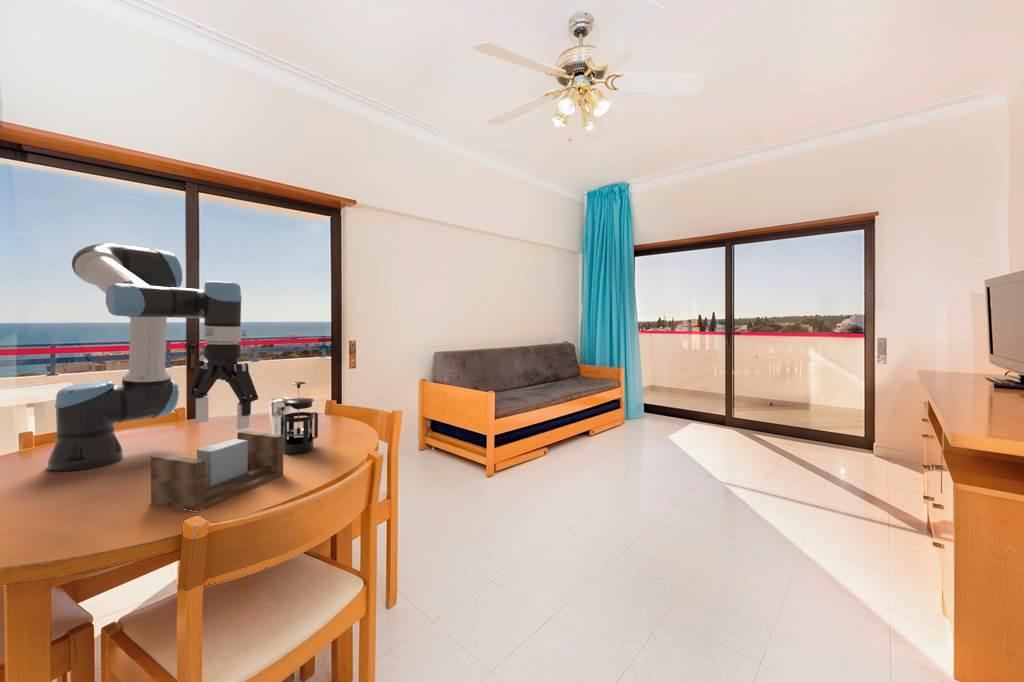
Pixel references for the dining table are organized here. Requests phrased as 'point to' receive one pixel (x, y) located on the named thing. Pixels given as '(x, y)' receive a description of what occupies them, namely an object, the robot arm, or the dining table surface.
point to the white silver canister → (278, 415)
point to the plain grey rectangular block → (224, 461)
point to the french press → (298, 443)
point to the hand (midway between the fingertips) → (222, 425)
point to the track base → (185, 477)
